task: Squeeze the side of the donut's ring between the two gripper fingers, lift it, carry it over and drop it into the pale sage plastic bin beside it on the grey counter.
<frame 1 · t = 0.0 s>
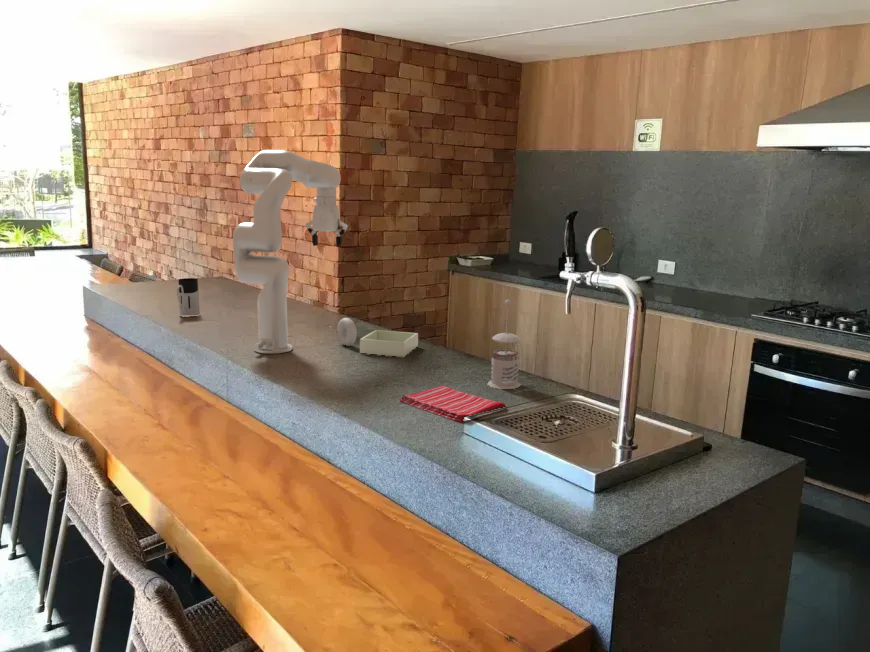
hand: (326, 246, 276), 31 cm above the counter, tool pointing down, fingers open, 9 cm apart
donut: (347, 346, 248), on the counter
glass holder: (186, 317, 292), on the counter
french press: (506, 384, 206), on the counter
dish towel: (452, 408, 186), on the counter
bin: (389, 350, 243), on the counter
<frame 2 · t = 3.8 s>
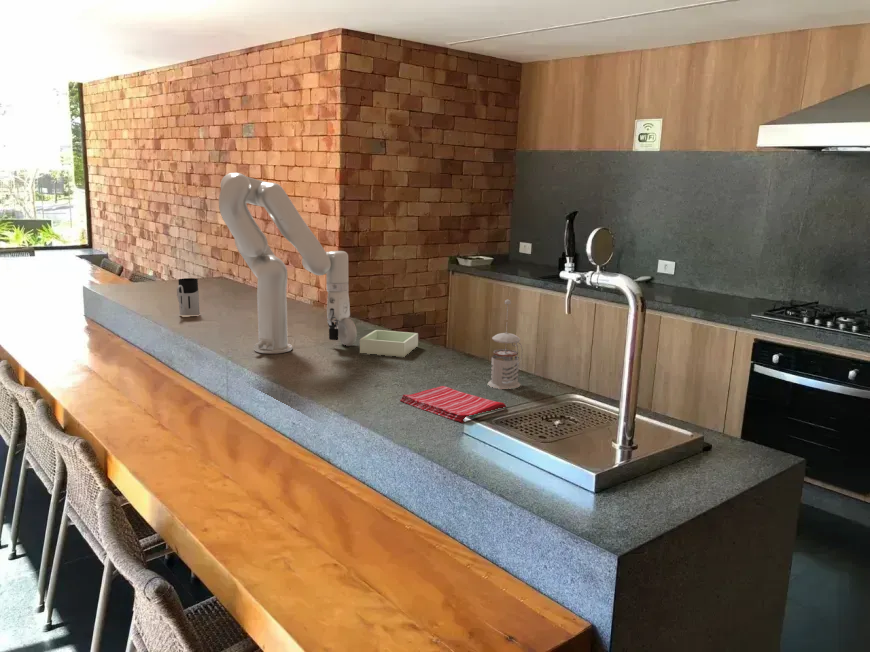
hand: (338, 337, 248), 3 cm above the counter, tool pointing down, fingers open, 6 cm apart
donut: (347, 346, 247), on the counter, touching gripper
everything else where it was.
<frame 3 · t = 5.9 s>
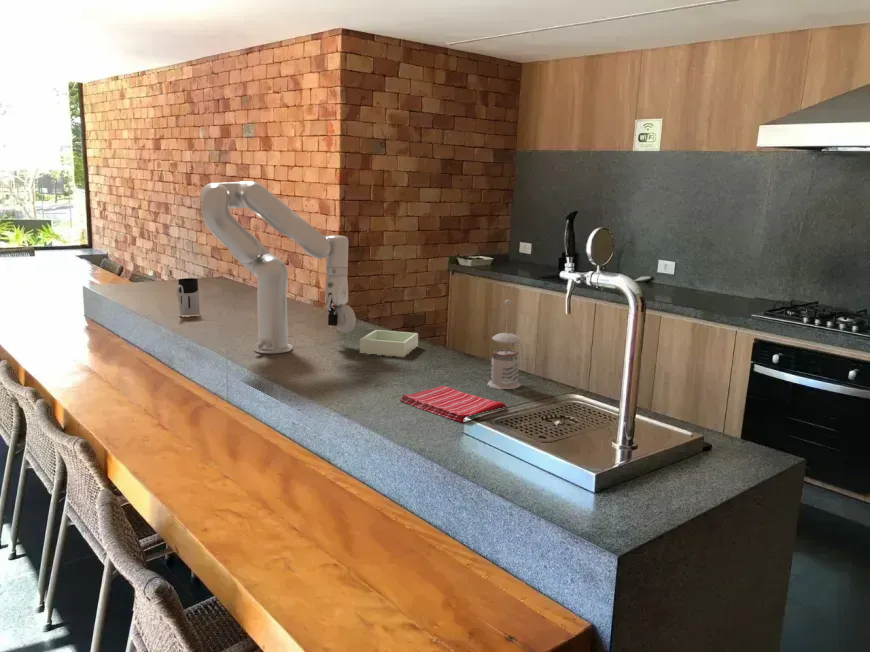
hand: (335, 323, 247), 8 cm above the counter, tool pointing down, fingers closed on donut, 3 cm apart
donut: (344, 333, 245), point 5 cm above the counter, touching gripper
everything else where it was.
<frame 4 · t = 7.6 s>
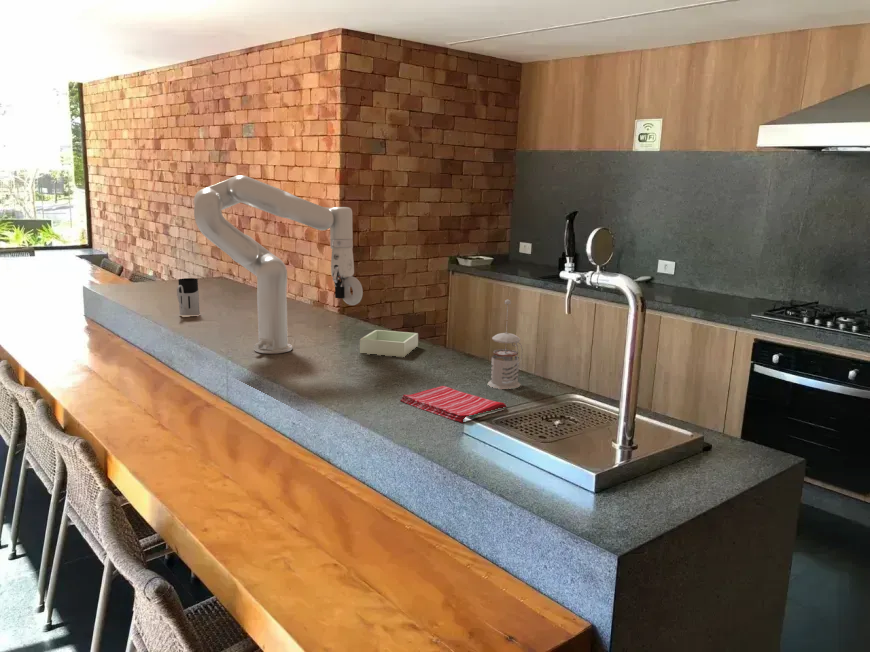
hand: (342, 296, 244), 17 cm above the counter, tool pointing down, fingers closed on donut, 3 cm apart
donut: (351, 305, 243), point 15 cm above the counter, touching gripper
everything else where it was.
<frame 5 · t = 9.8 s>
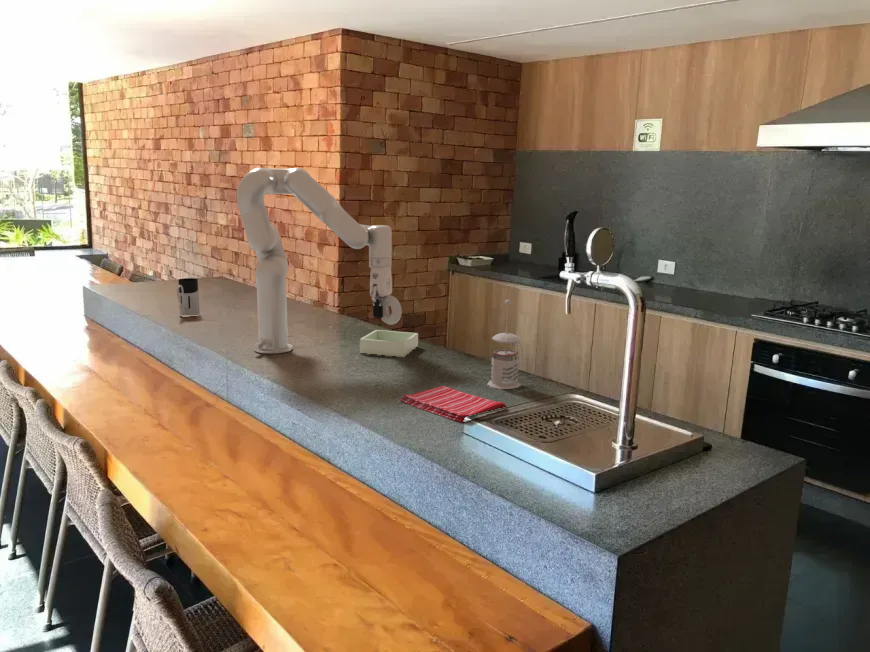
hand: (380, 315, 241), 12 cm above the counter, tool pointing down, fingers closed on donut, 3 cm apart
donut: (389, 325, 239), point 9 cm above the counter, touching gripper
everything else where it was.
when the fingers open (5 cm above the counter, at t = 11.2 s): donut drops 2 cm, resting on bin.
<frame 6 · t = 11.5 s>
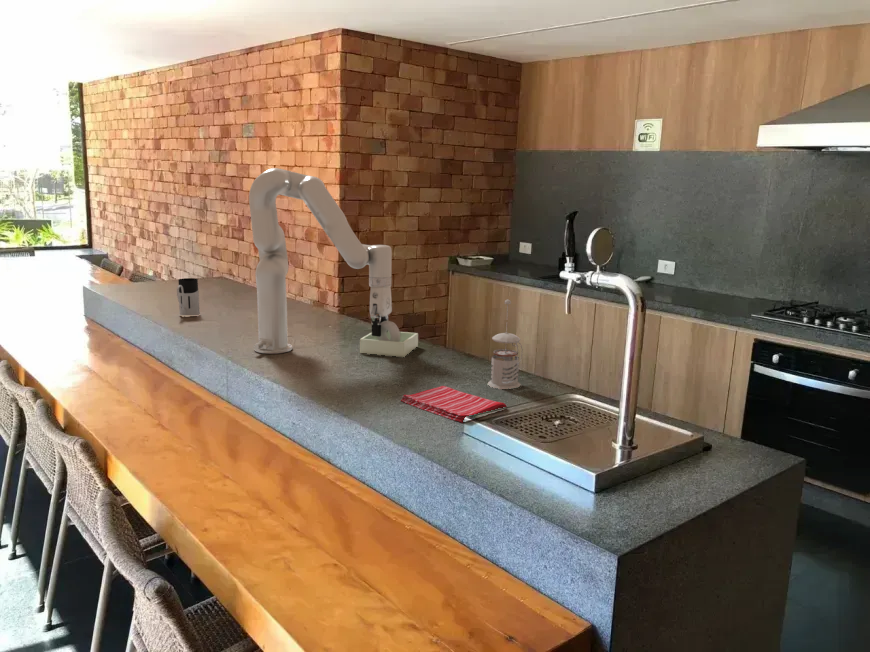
hand: (379, 333, 242), 6 cm above the counter, tool pointing down, fingers open, 6 cm apart
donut: (388, 349, 241), resting on bin
everything else where it was.
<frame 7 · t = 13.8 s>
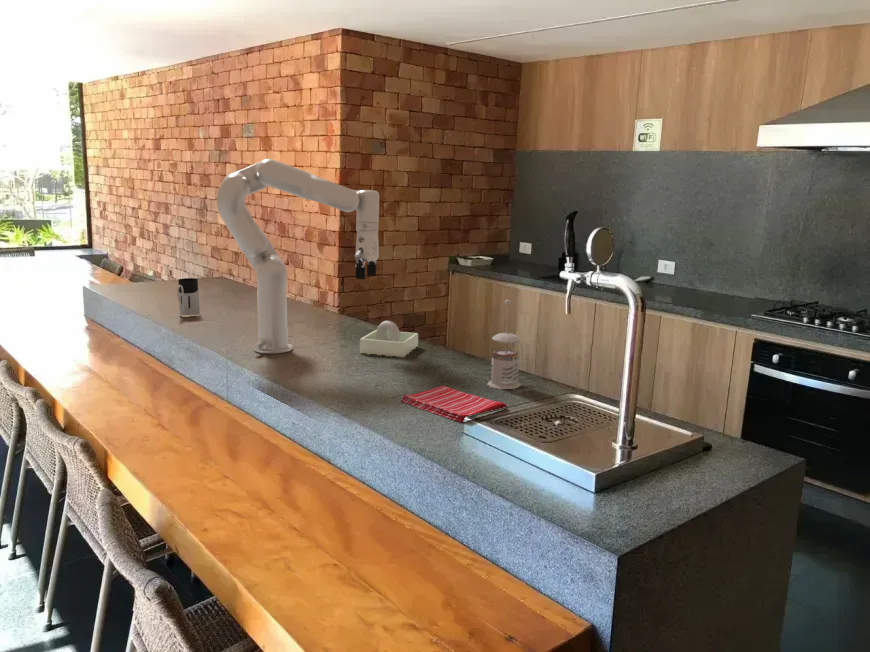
hand: (365, 277, 243), 24 cm above the counter, tool pointing down, fingers open, 9 cm apart
nothing on the counter moved.
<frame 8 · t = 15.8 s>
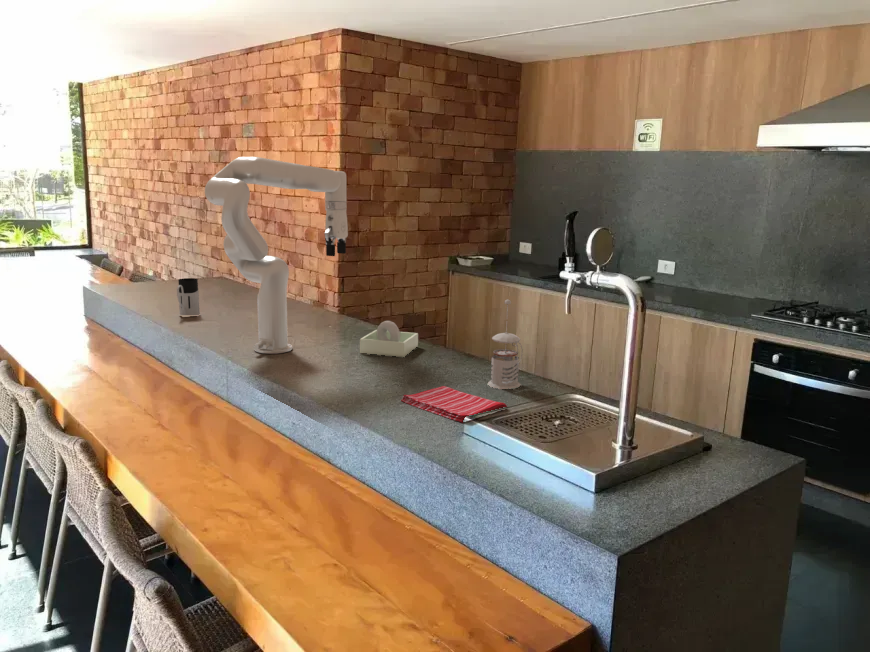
hand: (336, 254, 255), 30 cm above the counter, tool pointing down, fingers open, 9 cm apart
nothing on the counter moved.
at the end: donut inside the target area on the bin (1.3 cm from its centre), point 0.4 cm above the bin's base; the gripper is holding nothing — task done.
